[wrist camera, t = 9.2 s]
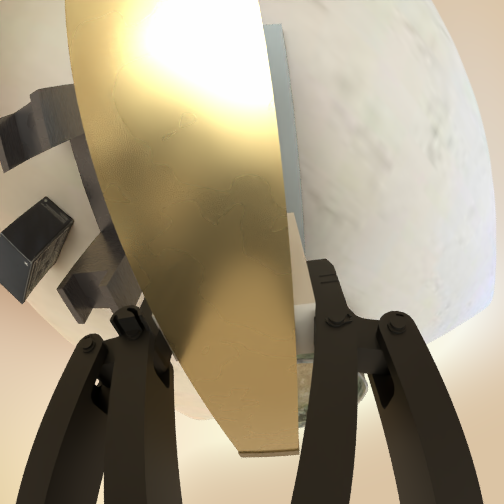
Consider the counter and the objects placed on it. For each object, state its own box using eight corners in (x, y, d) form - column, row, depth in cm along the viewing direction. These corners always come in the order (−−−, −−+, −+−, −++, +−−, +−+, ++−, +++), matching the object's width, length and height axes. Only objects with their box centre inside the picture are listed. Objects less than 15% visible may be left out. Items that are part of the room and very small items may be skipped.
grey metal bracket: (117, 262, 37) (80, 326, 26) (63, 98, 24) (-10, 118, 13) (160, 257, 36) (129, 327, 26) (110, 76, 23) (36, 83, 13)
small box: (44, 193, 31) (-2, 230, 22) (75, 219, 33) (33, 263, 24) (29, 240, 35) (-7, 279, 26) (56, 263, 37) (23, 306, 28)
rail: (243, 400, 20) (241, 457, 16) (136, -8, 6) (62, -48, 2) (294, 396, 20) (299, 454, 16) (244, -34, 6) (235, -108, 1)
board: (226, 269, 37) (225, 281, 35) (180, 44, 22) (173, 41, 20) (303, 260, 36) (305, 272, 34) (279, 28, 21) (281, 23, 19)
